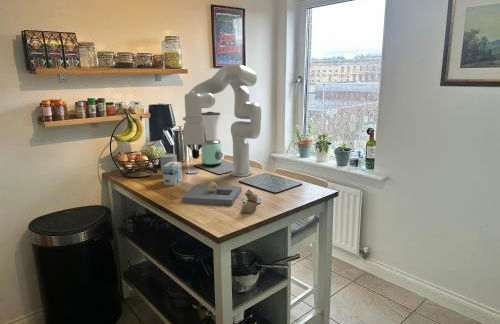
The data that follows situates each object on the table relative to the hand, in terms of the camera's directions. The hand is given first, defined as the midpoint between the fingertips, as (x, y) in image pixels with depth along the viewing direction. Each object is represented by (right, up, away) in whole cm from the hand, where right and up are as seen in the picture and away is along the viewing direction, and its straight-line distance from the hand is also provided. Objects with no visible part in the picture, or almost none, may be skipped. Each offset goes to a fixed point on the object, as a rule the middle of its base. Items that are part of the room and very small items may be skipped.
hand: (195, 158), depth 167 cm
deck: (+8, -19, +3) cm, 21 cm away
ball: (+8, -14, +2) cm, 16 cm away
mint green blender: (0, -4, +64) cm, 64 cm away
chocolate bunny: (+26, -23, -15) cm, 38 cm away
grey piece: (-22, -10, +41) cm, 47 cm away
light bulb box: (-17, -13, +27) cm, 34 cm away
